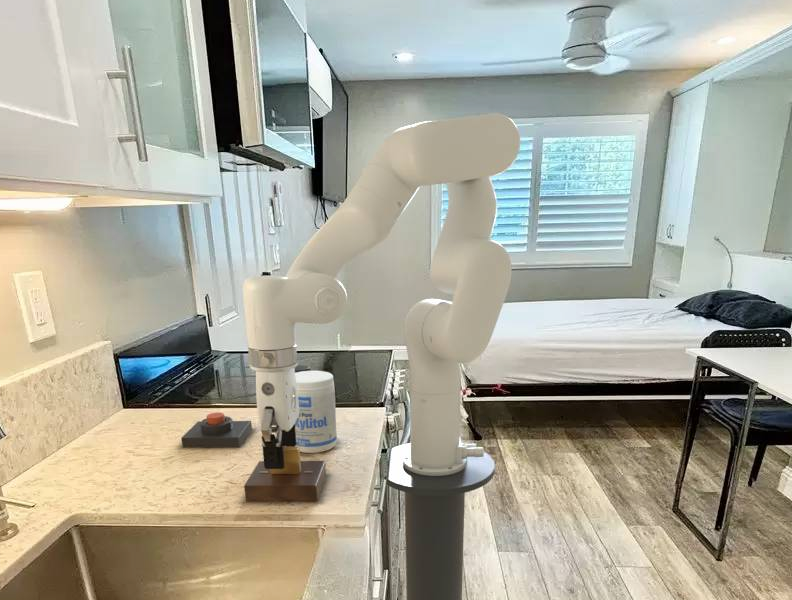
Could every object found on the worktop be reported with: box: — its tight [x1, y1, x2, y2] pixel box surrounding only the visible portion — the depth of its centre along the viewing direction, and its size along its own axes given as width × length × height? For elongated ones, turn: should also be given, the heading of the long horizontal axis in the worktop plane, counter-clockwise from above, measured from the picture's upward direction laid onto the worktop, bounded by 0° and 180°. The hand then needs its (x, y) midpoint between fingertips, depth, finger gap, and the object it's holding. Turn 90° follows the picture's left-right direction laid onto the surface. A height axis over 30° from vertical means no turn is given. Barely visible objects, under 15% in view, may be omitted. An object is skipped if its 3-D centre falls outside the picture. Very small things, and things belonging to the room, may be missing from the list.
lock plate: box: [243, 460, 327, 503], centre depth 99 cm, size 12×10×3 cm
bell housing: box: [180, 415, 253, 449], centre depth 122 cm, size 12×10×4 cm
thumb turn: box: [271, 447, 301, 474], centre depth 97 cm, size 5×1×5 cm, turn 87°
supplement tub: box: [294, 370, 338, 454], centre depth 114 cm, size 10×10×15 cm
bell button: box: [206, 412, 225, 425], centre depth 121 cm, size 4×4×2 cm
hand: (281, 456), depth 97 cm, fingers open, 9 cm apart
